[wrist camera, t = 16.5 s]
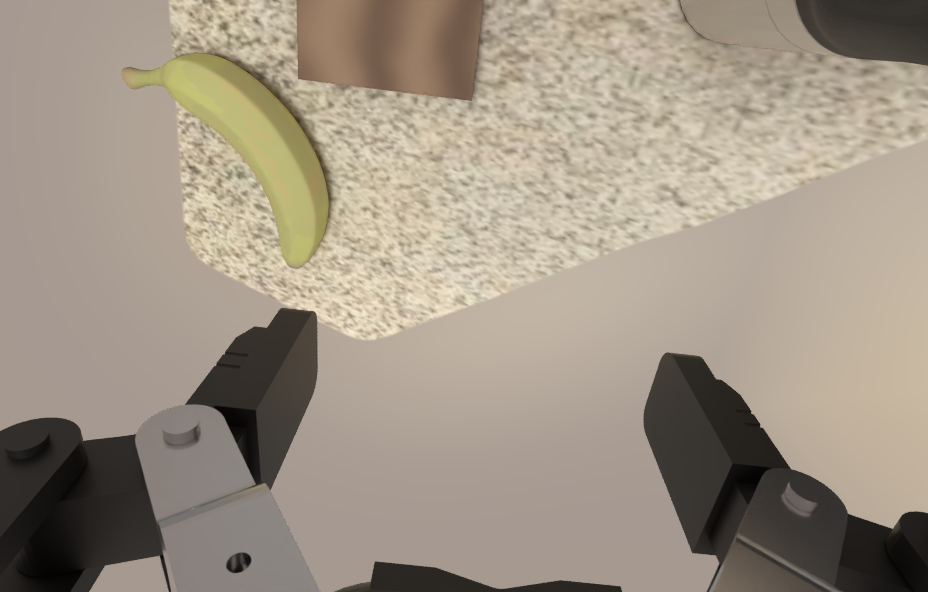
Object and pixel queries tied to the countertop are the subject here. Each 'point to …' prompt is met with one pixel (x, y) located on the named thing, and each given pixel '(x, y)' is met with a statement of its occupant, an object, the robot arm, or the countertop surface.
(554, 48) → the countertop surface
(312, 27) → the walnut board
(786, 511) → the robot arm
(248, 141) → the banana
